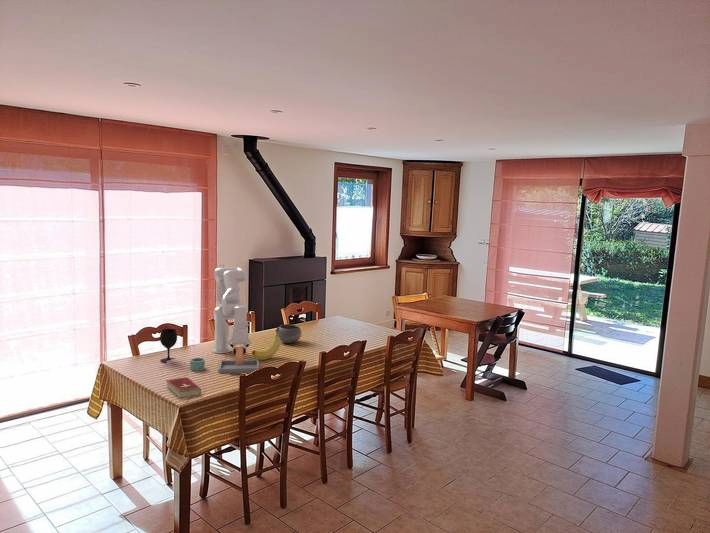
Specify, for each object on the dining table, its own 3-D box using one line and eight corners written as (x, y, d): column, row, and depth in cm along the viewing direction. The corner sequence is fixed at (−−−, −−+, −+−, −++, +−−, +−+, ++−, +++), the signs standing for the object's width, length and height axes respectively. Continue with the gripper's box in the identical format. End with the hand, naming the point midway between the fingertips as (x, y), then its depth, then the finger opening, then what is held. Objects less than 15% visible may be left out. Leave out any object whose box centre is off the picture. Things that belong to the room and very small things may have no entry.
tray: (220, 365, 340) (220, 360, 339) (258, 365, 344) (258, 359, 344) (218, 374, 322) (218, 368, 322) (258, 373, 327) (258, 368, 326)
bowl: (303, 340, 410) (303, 324, 409) (298, 346, 393) (298, 329, 391) (280, 338, 412) (280, 322, 411) (274, 344, 394) (275, 328, 393)
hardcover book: (187, 383, 306) (187, 376, 305) (200, 394, 289) (201, 387, 288) (166, 386, 298) (166, 379, 298) (178, 398, 282) (178, 391, 281)
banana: (255, 362, 349) (255, 332, 346) (249, 360, 352) (250, 331, 350) (281, 356, 365) (282, 328, 363) (276, 354, 369) (277, 326, 367)
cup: (191, 368, 332) (191, 357, 331) (205, 367, 333) (205, 357, 333) (189, 372, 324) (189, 361, 323) (204, 372, 325) (204, 361, 324)
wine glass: (180, 360, 346) (180, 330, 344) (167, 364, 337) (167, 333, 335) (169, 357, 351) (169, 327, 349) (156, 361, 342) (156, 330, 340)
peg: (235, 363, 335) (235, 346, 333) (243, 363, 336) (243, 345, 334) (235, 365, 330) (235, 348, 329) (243, 365, 331) (243, 348, 329)
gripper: (254, 324, 335) (253, 352, 337) (226, 324, 332) (225, 352, 334) (254, 327, 328) (253, 356, 330) (225, 327, 325) (225, 356, 327)
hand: (239, 354), depth 332 cm, fingers closed on peg, 5 cm apart
